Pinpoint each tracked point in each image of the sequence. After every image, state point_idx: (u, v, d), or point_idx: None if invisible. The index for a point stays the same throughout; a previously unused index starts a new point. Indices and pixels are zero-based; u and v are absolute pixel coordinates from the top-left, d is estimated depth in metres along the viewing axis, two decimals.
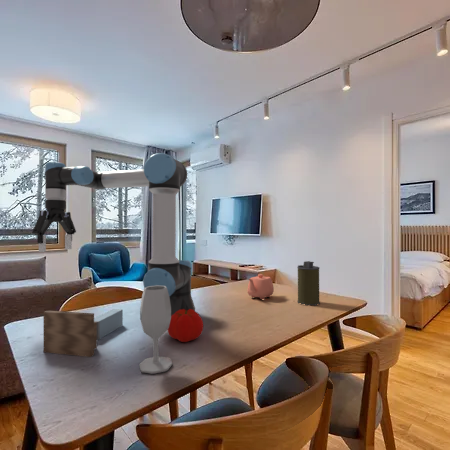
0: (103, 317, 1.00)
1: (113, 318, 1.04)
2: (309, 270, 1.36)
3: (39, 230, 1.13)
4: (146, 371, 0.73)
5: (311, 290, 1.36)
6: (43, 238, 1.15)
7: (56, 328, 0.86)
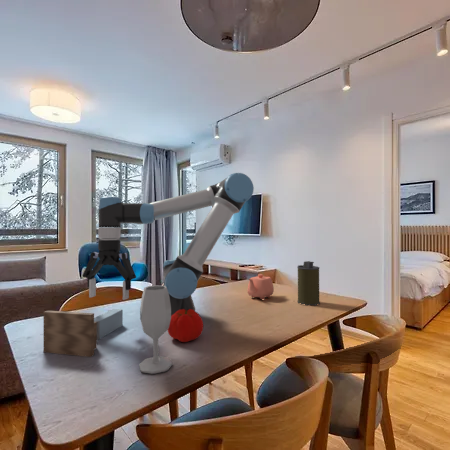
0: (103, 317, 1.00)
1: (113, 318, 1.04)
2: (309, 270, 1.36)
3: (84, 273, 1.07)
4: (146, 371, 0.73)
5: (311, 290, 1.36)
6: None
7: (56, 328, 0.86)
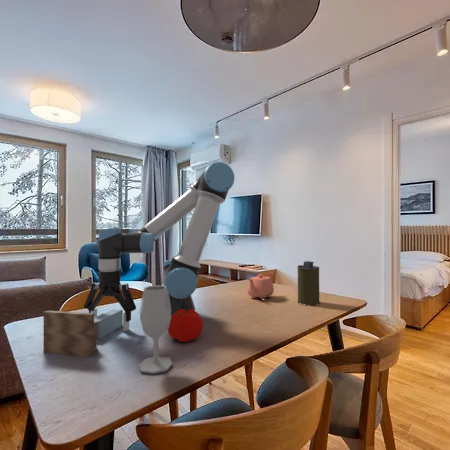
0: (103, 317, 1.00)
1: (113, 318, 1.04)
2: (309, 270, 1.36)
3: (85, 305, 1.07)
4: (146, 371, 0.73)
5: (311, 290, 1.36)
6: None
7: (56, 328, 0.86)
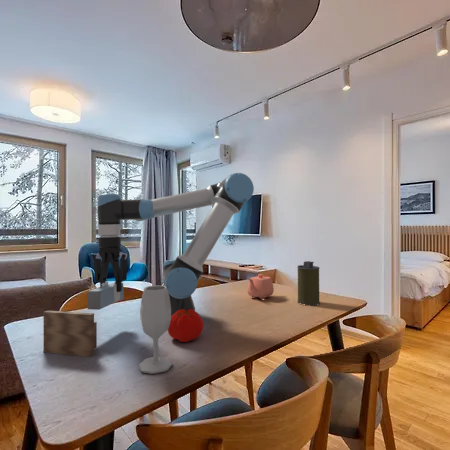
0: (104, 288, 1.00)
1: (113, 290, 1.04)
2: (309, 270, 1.36)
3: (96, 277, 1.06)
4: (146, 371, 0.73)
5: (311, 290, 1.36)
6: None
7: (56, 328, 0.86)
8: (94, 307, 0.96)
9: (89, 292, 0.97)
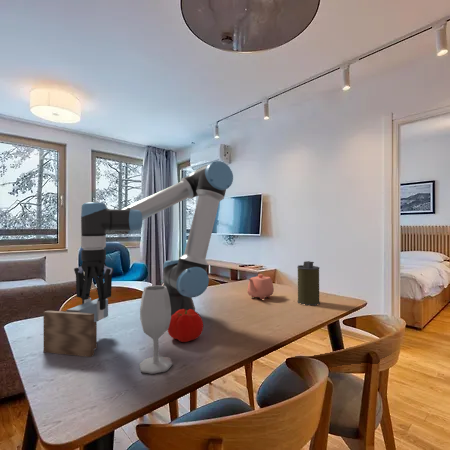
0: (86, 306, 0.92)
1: (96, 307, 0.96)
2: (309, 270, 1.36)
3: (78, 293, 0.97)
4: (146, 371, 0.73)
5: (311, 290, 1.36)
6: None
7: (56, 328, 0.86)
8: None
9: (68, 311, 0.88)
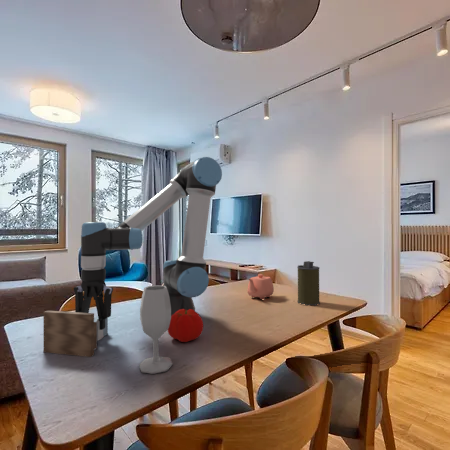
0: None
1: None
2: (309, 270, 1.36)
3: None
4: (146, 371, 0.73)
5: (311, 290, 1.36)
6: None
7: (56, 328, 0.86)
8: None
9: None
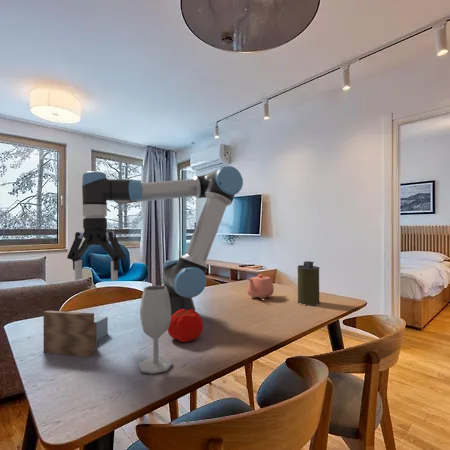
0: None
1: None
2: (309, 270, 1.36)
3: (69, 255, 1.00)
4: (146, 371, 0.73)
5: (311, 290, 1.36)
6: (75, 264, 1.00)
7: (56, 328, 0.86)
8: None
9: None
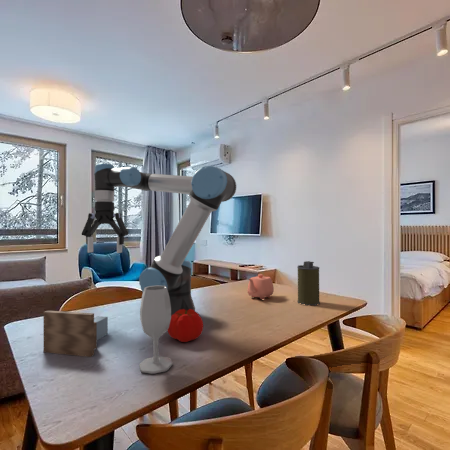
0: None
1: None
2: (309, 270, 1.36)
3: (83, 232, 1.22)
4: (146, 371, 0.73)
5: (311, 290, 1.36)
6: (88, 239, 1.22)
7: (56, 328, 0.86)
8: None
9: None
